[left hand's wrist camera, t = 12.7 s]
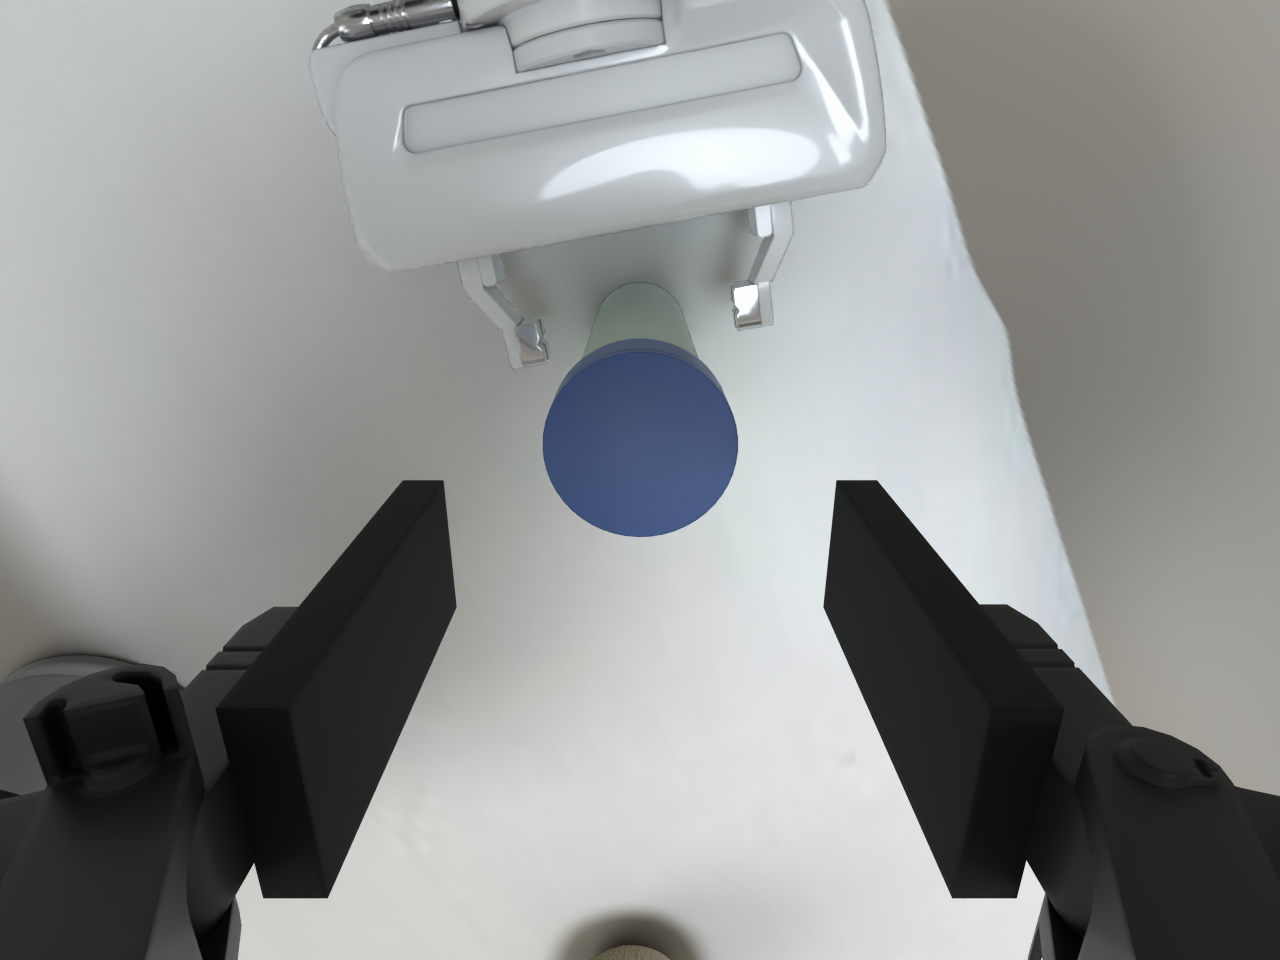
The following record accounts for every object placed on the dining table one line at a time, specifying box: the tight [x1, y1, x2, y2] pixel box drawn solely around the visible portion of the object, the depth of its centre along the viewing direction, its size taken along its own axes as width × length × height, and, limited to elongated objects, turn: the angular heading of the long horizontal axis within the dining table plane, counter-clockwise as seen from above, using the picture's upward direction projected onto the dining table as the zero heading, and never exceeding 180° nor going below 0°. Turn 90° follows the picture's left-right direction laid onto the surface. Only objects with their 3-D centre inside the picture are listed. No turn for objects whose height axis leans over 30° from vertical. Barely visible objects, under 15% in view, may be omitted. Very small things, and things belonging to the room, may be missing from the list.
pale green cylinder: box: [582, 283, 699, 359], centre depth 29 cm, size 4×4×18 cm
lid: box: [543, 338, 738, 537], centre depth 20 cm, size 5×5×2 cm
